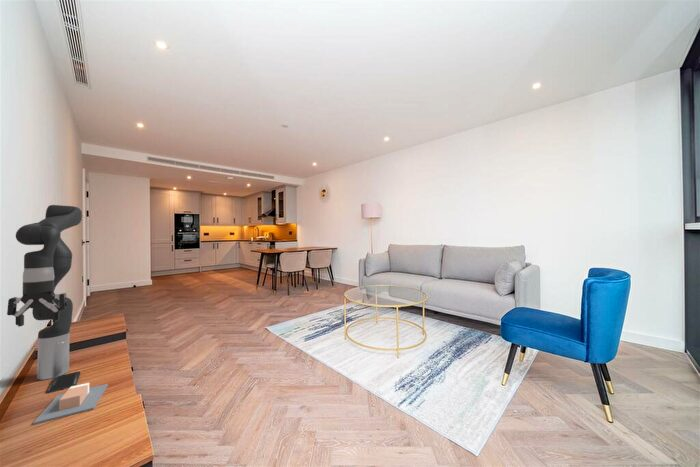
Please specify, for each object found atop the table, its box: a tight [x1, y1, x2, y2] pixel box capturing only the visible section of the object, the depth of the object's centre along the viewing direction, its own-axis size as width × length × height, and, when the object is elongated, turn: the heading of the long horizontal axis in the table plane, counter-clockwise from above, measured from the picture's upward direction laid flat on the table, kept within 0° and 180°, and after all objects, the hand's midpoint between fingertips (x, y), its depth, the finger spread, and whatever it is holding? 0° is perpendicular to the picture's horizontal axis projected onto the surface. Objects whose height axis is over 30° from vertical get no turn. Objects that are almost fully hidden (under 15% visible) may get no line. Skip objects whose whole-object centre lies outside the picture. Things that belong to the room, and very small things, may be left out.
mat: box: [32, 383, 109, 426], centre depth 94 cm, size 18×14×1 cm
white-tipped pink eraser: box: [59, 382, 90, 411], centre depth 94 cm, size 10×5×4 cm, turn 31°
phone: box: [47, 371, 81, 394], centre depth 108 cm, size 8×1×15 cm
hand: (38, 323), depth 97 cm, fingers open, 8 cm apart
